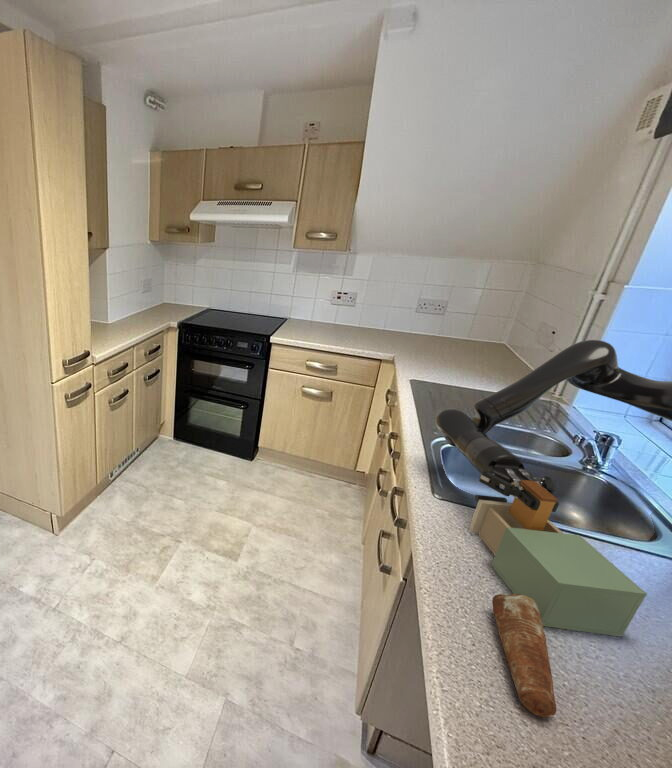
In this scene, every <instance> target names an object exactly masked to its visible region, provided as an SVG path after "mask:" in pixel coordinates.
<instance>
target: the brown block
mask: <svg viewBox="0 0 672 768" xmlns="http://www.w3.org/2000/svg"><path fill="white" fill-rule="evenodd" d="M520 483H521V484H522V485H523V486H524V487H525V490H528V491H529V492H530V493H531V494H532V495H534V496H535V497H536V498H537V499H538V500H539V501H540V506H539V508H538V510H532V509H531V508H529V507H528V506H526V505H525V504H524V503H523V502H522V501H521V500H520V499H517V498H515V497H514V498H513V499H512V500H513V501H512V502H511V503H512V505H511V508H510V510H509V513H510V514H511V515H512V516H513V517H514V518H515V519H516V520H517V521H518V522H519V523H520V524H521V525H522V526H523V527H524V528H525V529H528V530H537V531H543V530H544V528H545V525H546V523H547V521H548V520H549V518H550V517H551V514H552V513H553V512H552V509H553V507H554V505H555V503H556V502H558V498H556V497H555V496H554V494H553V495H552V494H550V493H549V492H548V491H547V490H545V489H544V488H543V487H542V486H541V485H539V484H538V483H537V482H536V481H529V480H521V482H520Z"/></svg>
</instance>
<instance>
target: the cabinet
mask: <svg viewBox="0 0 672 768" xmlns="http://www.w3.org/2000/svg"><path fill="white" fill-rule="evenodd" d="M491 568H492V569H493V570H494V571H495V572H496V574H497V575H498V576H499V577H500V579H501V580H502V581H503V582H504V584H505V585H506V586H507V587H508V589H509V591H511V592H512V594H521V595H524V596H526V597H530V598H532V599H533V600H534V601H535V602H536V605H537V607H538V609H539V612H540V615H541V618H542V623H543V627H547V628H554V629H562V630H569V631H575V632H584V633H591V634H598V635H605V636H606V635H607V636H611V637H612V636H613V637H620V638H621V637H623V635H624V634H625V632H626V630H627V629H628V627H629V626H630V624H631V622H632V620H633V618H634V617H635V615H636V614H637V612H638V610H639V608H640V607H641V605H642V603H643V602H644V600H645V598H646V597H647V595H648V593H647V592H646V591H645V590H644V589H643V588H641V587H640V586H639V585H638V584H637V583H635V582H634V581H633V580H632V579H631V578H629V576H627V575H626V574H625V573H624V572H623V571H622V570H621V569H619V568H618V567H617V566H616V565H614V563H612V562H611V561H610V560H609V559H608V558H607V557H606V556H604V555H603V554H602V553H601V552H599V551H598V550H597V549H596V548H595V547H594V546H593V545H592V544H590V543H589V542H588V541H587V540H586V539H584V537H582V536H581V535H580V534H572V533H571V534H570V533H564V532H562V533H555V532H546V531H537V530H528V529H519V528H510V527H506V530H505V533H504V535H503V538H502V540H501V543H500V545H499V548H498V550H497V553H496V555H494V558H493V561H492V562H491Z"/></svg>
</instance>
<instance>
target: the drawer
mask: <svg viewBox="0 0 672 768" xmlns="http://www.w3.org/2000/svg"><path fill="white" fill-rule="evenodd" d="M473 498H474V501H475V502H477V504H476V507H475V510H474V513H473V515H472V518H471V521H470V524H469V526H468V530H469V531H470V532H471V533H477V534H478V537H479V538H480V539H481V540H482V541H483V543H484V544H485V545H486V547H488V549H489V550H490V551H491V553H493V555H494V556H495V555H496V553H497V550H498V548H499V545H500V543H501V540H502V538H503V535H504V533H505V530H506V527H510V528H519V529H525V528H524V527H523V526H522V525H521V524H520V523H519V522H518V521H517V520H516V519H515V518H514V517H513V516H512V515H511V514H510V513H509V510H510V508H511V505H512V503H513V502H508V499H507V498H506V497H502V496H491V495H481V494H475V495H474V497H473ZM543 531H546V532H555V533H563V531H562V530H561V529H559V528H558V527H557V526H556V525H555V524H554V523H553V522H551V520H549V519H548V521H547V523H546V525H545V528H544V530H543Z"/></svg>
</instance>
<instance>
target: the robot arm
mask: <svg viewBox="0 0 672 768" xmlns="http://www.w3.org/2000/svg"><path fill="white" fill-rule="evenodd" d="M616 351H617V350H616V349H615V347H614V346H613V345H612V344H611V343H610V342H607V341H604V340H600V339H587V340H582V341H581V340H580V341H579V342H576V343H573V344H570V345H568V347H566V348H564V349H563V350H561V351H560V352H558V353H557V354H555V355H554V356H553V357H551V358H550V359H548V360H546V361H545V362H544V363H541V365H540V366H538V367H536V368H535V369H534V370H532V371H530V372H529V373H527V374H526V375H524V376H522V377H521V378H520V379H518V380H517V381H515V382H513V383H511V384H509V385H508V386H505V387H503V388H502V389H500V390H498V391H496V392H494V393H491V394H489V395H487V396H485V397H484V398H482V399H479V400H477V401H476V402H475V403H474V404H473V405H472V411H473V417H472V418H471V417H470V416H469V415H468V414H467V413H465V412H464V411H463V410H461V409H458V408H451V407H450V408H445V409H442V410H441V411H439V413H437V415H436V417H435V424H436V427H437V428H438V430H439V431H440V433H441V435H442V436H443V438H444V440H445V442H446V443H447V444H448V445H450V446H451V447H454V448H456V449H457V450H458V452H460V453H461V454H462V456H464V457H465V458H466V459H467V460H468V462H469V463H470V464H471V466H472V467H474V468H475V469H476V470H477V471H478V472H479V474H480V477H479V480H478V482H480V483H481V484H484V485H485V486H486V487H488V488H491V489H493V490H494V491H496V492H498V493H499V494H500V495H503V496H504V497H510V496H513V497H514V498H517V499H520V500H521V501H522V502H523V503H524V504H525V505H526V506H528V507H529V508H531V509H532V510H538V508H539V506H540V501H539V500H538V499H537V498H536V497H535V496H534V495H532V494H531V493H530V492H529V491H528V490H525V487H524V486H523V485H522V484H521V483H520V482H521V480H529V481H536V482H537V483H538V484H539V485H541V486H542V487H543V488H544V489H545V490H547V491H548V492H549V493H550V494H552V495H553V496H554V494H555V492H556V488H555V485H554V482H553V479H552V477H550V476H547V475H545V476H543V477H542V478H541V477H537V476H535V475H534V474H533V473H532V472H530V471H528V470H526V468H525V466H524V464H523V463H524V462H523V461H522V460H521V459H520V458H519V457H518V456H517V455H515V454H514V453H512V451H510V450H509V449H508V448H506V447H505V446H504V445H502V444H501V443H499V442H498V441H496V440H494V439H493V438H492V437H490V436H489V435H488V434H487V433H488V432H489V431H491V430H492V429H493V428H494V427H496V426H497V425H498V424H501V423H503V422H506V421H507V420H509V419H512V418H513V417H516V416H518V415H520V414H521V413H523V412H525V411H526V410H528V409H529V408H530V407H532V406H533V405H534V404H535V403H537V402H538V400H540V399H541V398H542V397H543V396H544V395H545V394H546V393H548V392H549V391H550V390H551V389H553V388H554V387H556V386H557V385H559V384H561V383H562V382H565V381H567V382H568V383H569V384H571V385H572V386H573V387H575V388H578V389H579V390H583V391H585V392H589V393H592V394H595V395H597V396H602V397H605V398H608V399H611V400H615V401H617V402H620V403H624V404H626V405H629V406H632V407H634V408H637V409H640V410H641V411H645V412H647V413H649V414H652V415H654V416H657V417H660V418H662V419H665V420H667V421H669V422H672V380H656V379H650V378H647V377H644V376H641V375H638V374H634V373H632V372H631V371H627V370H625V369H624V368H621V367H620V366H619V362H618V356H617V352H616ZM500 486H501V487H500ZM559 505H560V503H559V502H558V501H557V502H556V503H555V505H554V507H553V509H552V512H551V513H556V512H557V509H558V507H559Z"/></svg>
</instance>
